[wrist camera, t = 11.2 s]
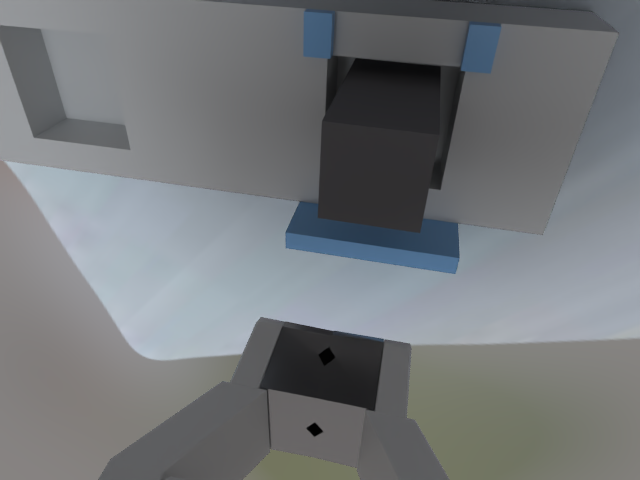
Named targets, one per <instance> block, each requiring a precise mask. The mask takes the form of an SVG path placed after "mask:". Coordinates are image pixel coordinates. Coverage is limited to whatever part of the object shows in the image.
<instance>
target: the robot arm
mask: <svg viewBox="0 0 640 480" xmlns="http://www.w3.org/2000/svg"><path fill="white" fill-rule="evenodd" d="M410 362H411V345H410V344H409V343H403V342H397V341H391V340H386V339H385V340H384V339H381V338H375V337H369V336H363V335H357V334H351V333H345V332H339V331H330V330H325V329H320V328H315V327H310V326H305V325H300V324H295V323H290V322H284V321H279V320H273V319H268V318H263V317H261V318H260V319H259V320H258V321H257V322H256V324H255V327H254V329H253V331H252V333H251V336H250V338H249V340H248V342H247V345H246V347H245V349H244V351H243V354H242V356H241V358H240V361H239V363H238V365H237V367H236V370H235V372H234V374H233V376H232V379H231V381H230V382H224V381H222V382H221V383H219V384H218V385H216V386H215V387H213V388H212V389H210V390H209V391H208V392H206V393H205V394H203V395H202V396H200V397H199V398H198V399H196V400H195V401H193V402H192V403H190V404H189V405H187V406H186V407H185V408H183V409H182V410H180V411H179V412H177V413H176V414H175V415H173V416H172V417H170V418H169V419H167V420H166V421H164V422H163V423H162V424H160V425H159V426H157V427H156V428H154V429H153V430H152V431H150V432H149V433H147V434H146V435H144V436H143V437H141V438H140V439H139V440H137V441H136V442H134V443H133V444H131V445H130V446H129V447H127V448H126V449H124V450H123V451H121V452H120V453H119V454H117V455H116V456H114V457H113V458H111V459H110V461H109V462H108V464H107V466H106V467H105V469H104V471H103V472H102V474H101V476H100V477H99V479H98V480H243V478H244V477H246V475H248V474H249V473H250V471H252V470H253V469H254V468H255V467H256V465H258V463H259V462H260V461H261V460H262V459H263V458H264V457H265V456H266V455H267V454H268V453H269V452H270V449H273V450H278V451H283V452H289V453H294V454H299V455H304V456H310V457H315V458H318V459H323V460H327V461H331V462H335V463H339V464H343V465H347V466H351V467H355V468H357V472H358V474H359V477H360V480H449V478H448V476H447V474H446V473H445V471H444V469H443V468H442V466H441V464H440V462H439V461H438V459H437V457H436V455H435V454H434V452H433V450H432V449H431V447H430V445H429V443H428V442H427V440H426V438H425V436H424V435H423V433H422V431H421V430H420V428H419V426H418V424H417V423H416V421H415V420H414V419H409V418H407V406H408V391H409V377H410Z"/></svg>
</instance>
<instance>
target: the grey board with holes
mask: <svg viewBox="0 0 640 480" xmlns="http://www.w3.org/2000/svg"><path fill="white" fill-rule="evenodd" d="M618 35H619V32H618V31H617V30H615V29H614V28H613V27H611V26H610V25H609V24H608V23H606V22H605V21H604V20H602V19H601V18H600V17H599V16H597V15H596V14H595V13H594V12H591V11H577V10H563V9H549V8H535V7H521V6H507V5H493V4H479V3H465V2H450V1H436V0H0V160H3V161H10V162H17V163H24V164H32V165H39V166H46V167H53V168H61V169H68V170H75V171H82V172H90V173H97V174H104V175H111V176H119V177H126V178H133V179H141V180H148V181H155V182H162V183H170V184H177V185H184V186H191V187H199V188H206V189H213V190H220V191H228V192H235V193H242V194H249V195H257V196H264V197H271V198H278V199H286V200H293V201H300V203H299V205H298V207H297V209H296V211H295V213H294V216H293V218H292V220H291V222H290V224H289V226H288V228H287V231H286V248H289V249H296V250H302V251H309V252H315V253H322V254H328V255H335V256H341V257H348V258H355V259H361V260H368V261H374V262H381V263H387V264H394V265H400V266H407V267H413V268H420V269H426V270H433V271H439V272H446V273H452V274H455V273H456V270H457V266H458V262H459V237H458V223H460V224H467V225H474V226H481V227H489V228H496V229H503V230H511V231H518V232H525V233H532V234H540V235H543V233H544V231H545V228H546V225H547V223H548V220H549V218H550V215H551V212H552V210H553V207H554V204H555V202H556V199H557V196H558V194H559V191H560V188H561V186H562V183H563V180H564V178H565V175H566V173H567V170H568V167H569V165H570V162H571V159H572V157H573V154H574V151H575V149H576V146H577V143H578V141H579V138H580V136H581V133H582V130H583V128H584V125H585V122H586V120H587V117H588V114H589V112H590V109H591V106H592V104H593V101H594V98H595V96H596V93H597V91H598V88H599V85H600V83H601V80H602V77H603V75H604V72H605V69H606V67H607V64H608V61H609V59H610V56H611V53H612V51H613V48H614V46H615V43H616V40H617V38H618ZM355 58H360V59H370V60H380V61H391V62H401V63H411V64H421V65H431V66H441V83H440V136H439V141H438V146H437V151H436V156H435V161H434V166H433V171H432V176H431V181H430V186H429V191H428V196H427V201H426V206H425V211H424V216H423V221H422V226H421V231H420V233H416V232H409V231H402V230H395V229H389V228H382V227H375V226H368V225H362V224H355V223H348V222H342V221H335V220H328V219H321V218H318V198H319V175H320V152H321V128H322V120H323V118H324V116H325V114H326V112H327V111H328V109H329V107H330V105H331V103H332V101H333V99H334V98H335V96H336V94H337V92H338V90H339V88H340V86H341V84H342V83H343V81H344V79H345V77H346V75H347V73H348V71H349V70H350V68H351V66H352V64H353V62H354V60H355Z"/></svg>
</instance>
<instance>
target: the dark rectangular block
mask: <svg viewBox="0 0 640 480" xmlns="http://www.w3.org/2000/svg"><path fill="white" fill-rule="evenodd" d="M440 83H441V66H431V65H421V64H411V63H401V62H391V61H380V60H370V59H360V58H355V60H354V62H353V64H352V66H351V68H350V70H349V71H348V73H347V75H346V77H345V79H344V81H343V83H342V84H341V86H340V88H339V90H338V92H337V94H336V96H335V98H334V99H333V101H332V103H331V105H330V107H329V109H328V111H327V112H326V114H325V116H324V118H323V120H322V128H321V152H320V175H319V198H318V218H321V219H328V220H335V221H342V222H348V223H355V224H362V225H368V226H375V227H382V228H389V229H395V230H402V231H409V232H416V233H420V231H421V226H422V221H423V216H424V211H425V206H426V201H427V196H428V191H429V186H430V181H431V176H432V171H433V166H434V161H435V156H436V151H437V146H438V141H439V136H440Z"/></svg>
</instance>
